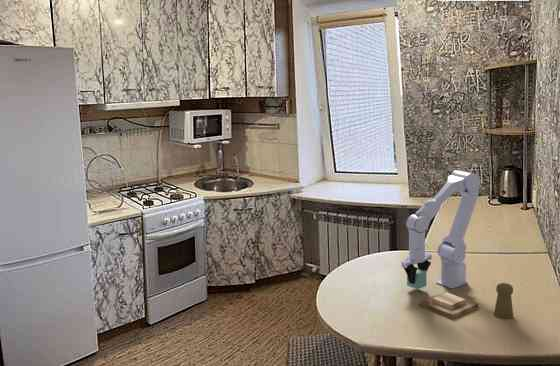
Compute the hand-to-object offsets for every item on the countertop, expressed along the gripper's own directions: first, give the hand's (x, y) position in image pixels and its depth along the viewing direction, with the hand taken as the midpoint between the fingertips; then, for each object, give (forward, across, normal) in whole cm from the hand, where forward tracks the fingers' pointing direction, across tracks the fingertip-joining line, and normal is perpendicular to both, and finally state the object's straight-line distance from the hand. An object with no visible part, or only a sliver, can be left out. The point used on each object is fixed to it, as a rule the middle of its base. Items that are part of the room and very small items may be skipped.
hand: (416, 281), depth 204 cm
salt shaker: (+4, -5, +33) cm, 34 cm away
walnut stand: (+4, +3, +17) cm, 18 cm away
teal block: (+2, 0, 0) cm, 2 cm away
